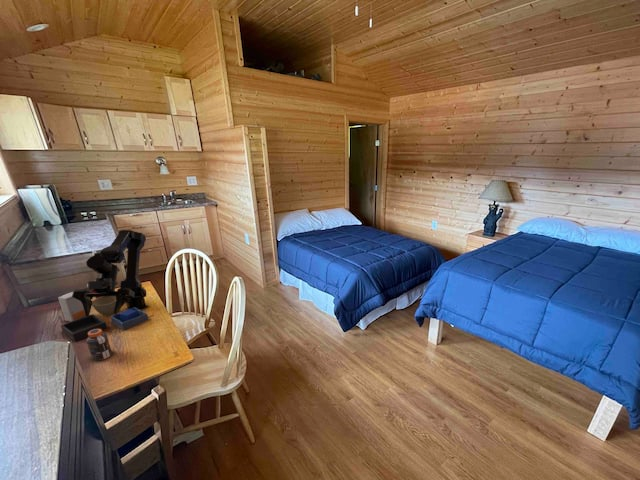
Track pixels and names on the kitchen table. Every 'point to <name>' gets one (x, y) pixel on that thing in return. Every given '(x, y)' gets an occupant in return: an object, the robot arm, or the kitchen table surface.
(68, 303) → the cosmetic box
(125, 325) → the blue bin
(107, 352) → the pill bottle
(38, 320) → the kitchen table surface
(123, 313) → the blue block
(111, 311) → the gray bowl
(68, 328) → the charcoal bin
